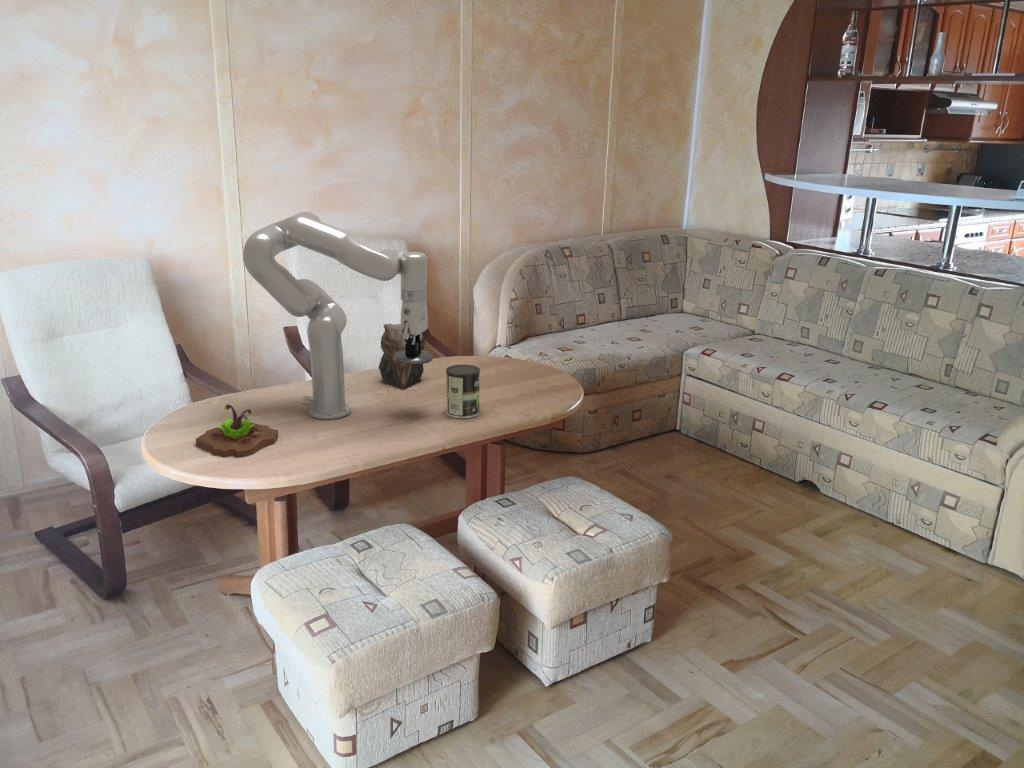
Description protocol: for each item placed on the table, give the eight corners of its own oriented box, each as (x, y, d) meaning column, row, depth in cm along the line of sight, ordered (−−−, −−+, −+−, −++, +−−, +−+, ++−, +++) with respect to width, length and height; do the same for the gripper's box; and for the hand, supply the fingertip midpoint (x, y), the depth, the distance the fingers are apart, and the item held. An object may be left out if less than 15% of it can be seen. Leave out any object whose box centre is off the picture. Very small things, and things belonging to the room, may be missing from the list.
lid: (387, 361, 249) (387, 344, 247) (403, 351, 260) (403, 335, 258) (423, 366, 246) (424, 349, 244) (438, 355, 257) (438, 339, 255)
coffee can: (480, 407, 265) (480, 364, 261) (478, 419, 256) (478, 374, 251) (447, 406, 265) (447, 363, 261) (444, 418, 256) (444, 374, 251)
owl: (377, 381, 287) (375, 324, 280) (405, 373, 296) (404, 318, 289) (402, 390, 279) (401, 331, 273) (430, 381, 288) (429, 324, 282)
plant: (237, 425, 248) (234, 388, 244) (289, 437, 240) (286, 400, 236) (184, 448, 231) (179, 409, 228) (237, 463, 223) (233, 423, 219)
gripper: (414, 302, 238) (413, 364, 244) (436, 290, 253) (435, 349, 259) (390, 299, 240) (390, 361, 246) (413, 288, 255) (412, 346, 261)
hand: (413, 354), depth 252 cm, fingers closed on lid, 3 cm apart
